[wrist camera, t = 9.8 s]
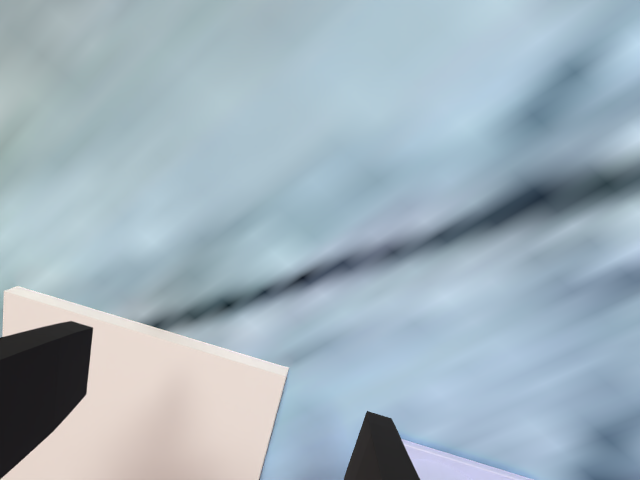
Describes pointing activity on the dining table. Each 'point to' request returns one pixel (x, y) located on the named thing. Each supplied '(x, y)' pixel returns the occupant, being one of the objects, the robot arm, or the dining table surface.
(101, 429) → the board
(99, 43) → the dining table surface
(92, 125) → the dining table surface
